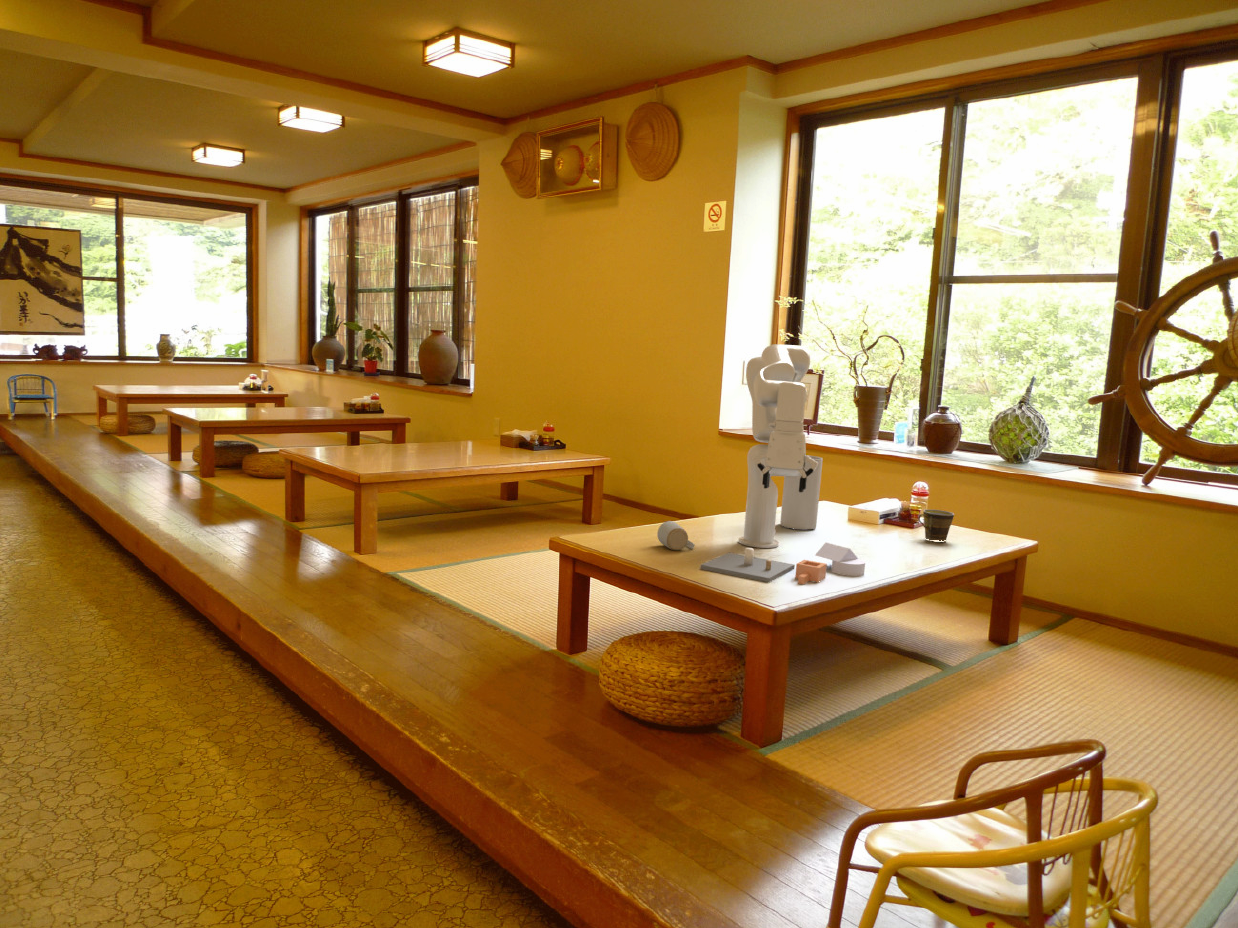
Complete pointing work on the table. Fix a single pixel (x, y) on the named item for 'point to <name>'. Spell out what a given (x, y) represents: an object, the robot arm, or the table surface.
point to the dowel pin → (768, 564)
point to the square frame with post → (810, 571)
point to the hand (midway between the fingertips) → (783, 489)
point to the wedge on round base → (842, 560)
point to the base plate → (747, 566)
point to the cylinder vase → (801, 499)
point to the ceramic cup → (936, 524)
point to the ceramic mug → (673, 536)
